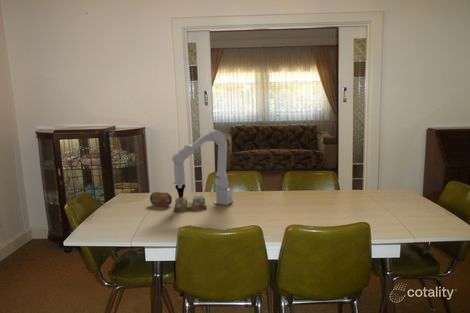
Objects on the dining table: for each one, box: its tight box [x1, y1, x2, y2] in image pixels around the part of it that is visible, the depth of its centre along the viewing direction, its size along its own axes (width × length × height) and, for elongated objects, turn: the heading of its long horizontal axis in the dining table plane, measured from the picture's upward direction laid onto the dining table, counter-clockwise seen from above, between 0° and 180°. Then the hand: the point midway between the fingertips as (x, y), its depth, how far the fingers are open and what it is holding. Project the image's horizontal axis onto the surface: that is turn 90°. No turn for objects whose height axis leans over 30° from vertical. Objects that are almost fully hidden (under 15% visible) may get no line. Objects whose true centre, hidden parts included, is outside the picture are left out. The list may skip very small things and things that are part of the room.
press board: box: [174, 195, 208, 213], centre depth 207 cm, size 18×10×6 cm, turn 98°
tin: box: [149, 191, 173, 208], centre depth 215 cm, size 15×3×8 cm, turn 62°
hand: (181, 197), depth 206 cm, fingers closed, pressing on terracotta plunger
